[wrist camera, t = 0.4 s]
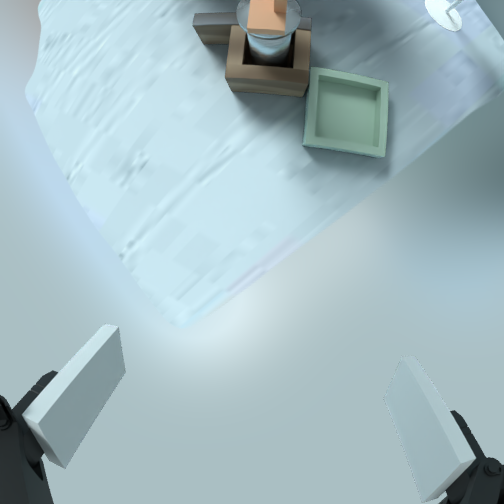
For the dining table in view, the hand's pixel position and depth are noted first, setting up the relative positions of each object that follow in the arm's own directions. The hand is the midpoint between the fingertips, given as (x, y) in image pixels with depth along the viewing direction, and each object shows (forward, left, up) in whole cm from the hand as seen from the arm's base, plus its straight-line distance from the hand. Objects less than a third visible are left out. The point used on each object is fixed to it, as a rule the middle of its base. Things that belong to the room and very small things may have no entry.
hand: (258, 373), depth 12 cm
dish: (-17, +8, -27) cm, 33 cm away
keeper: (-24, -2, -21) cm, 32 cm away
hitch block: (-23, -4, -27) cm, 36 cm away
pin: (-23, -2, -26) cm, 35 cm away
